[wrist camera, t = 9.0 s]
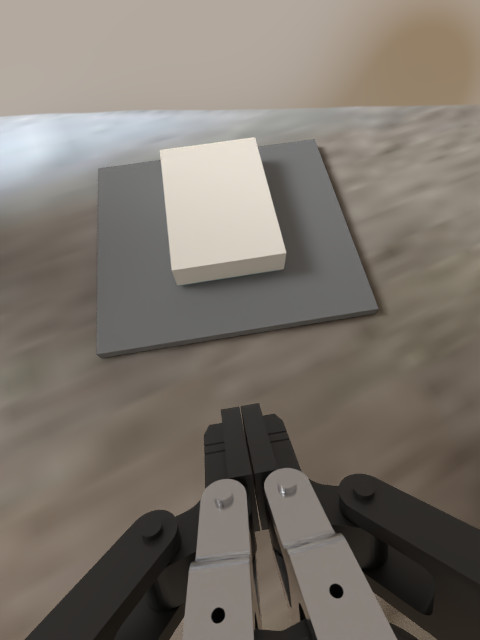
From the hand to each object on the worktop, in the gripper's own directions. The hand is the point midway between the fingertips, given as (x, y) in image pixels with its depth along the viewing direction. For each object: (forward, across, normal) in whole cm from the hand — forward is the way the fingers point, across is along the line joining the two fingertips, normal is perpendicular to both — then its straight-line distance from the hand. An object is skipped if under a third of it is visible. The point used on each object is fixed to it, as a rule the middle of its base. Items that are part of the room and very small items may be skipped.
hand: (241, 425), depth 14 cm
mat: (+18, -1, -5) cm, 19 cm away
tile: (+14, -1, -3) cm, 14 cm away
